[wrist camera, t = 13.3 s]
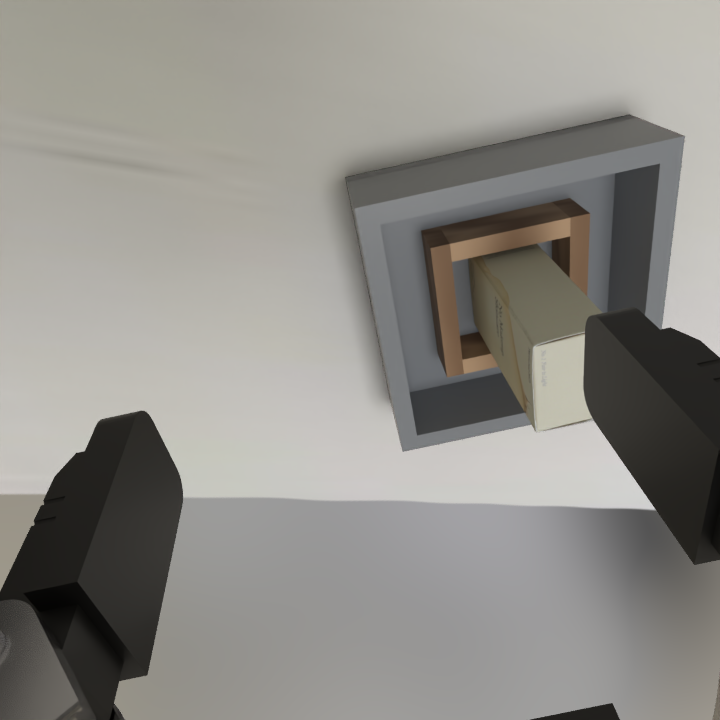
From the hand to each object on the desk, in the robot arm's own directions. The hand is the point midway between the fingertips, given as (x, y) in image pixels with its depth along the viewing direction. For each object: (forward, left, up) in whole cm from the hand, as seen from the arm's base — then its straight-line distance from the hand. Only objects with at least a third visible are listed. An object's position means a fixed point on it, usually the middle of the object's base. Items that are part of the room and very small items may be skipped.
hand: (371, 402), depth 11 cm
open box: (+10, -13, -28) cm, 33 cm away
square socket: (+10, -13, -28) cm, 33 cm away
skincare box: (+10, -13, -27) cm, 32 cm away
